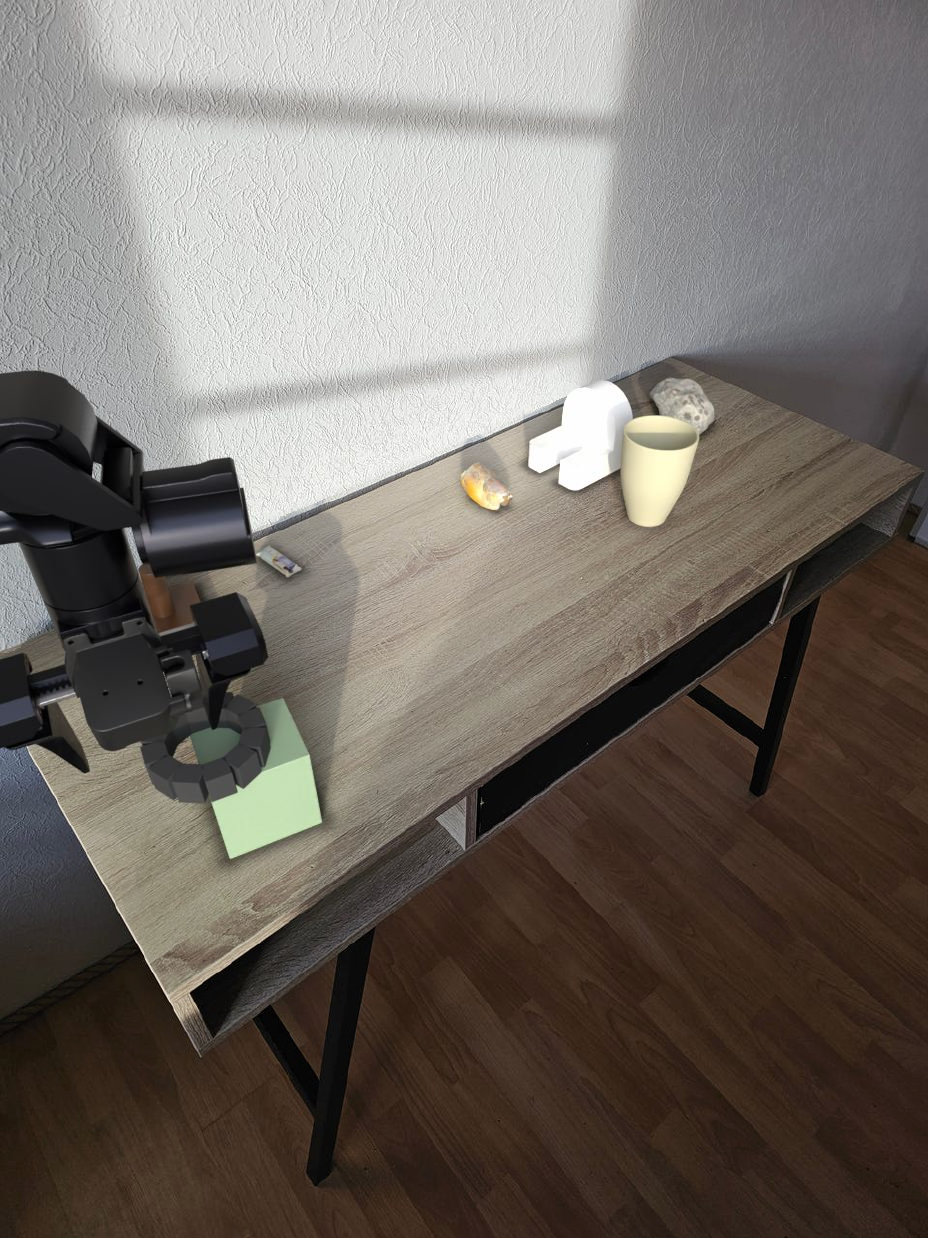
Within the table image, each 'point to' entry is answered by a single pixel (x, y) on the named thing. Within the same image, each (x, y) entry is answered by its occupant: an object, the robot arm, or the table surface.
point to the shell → (485, 487)
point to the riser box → (265, 785)
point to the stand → (168, 600)
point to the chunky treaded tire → (216, 775)
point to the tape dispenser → (585, 436)
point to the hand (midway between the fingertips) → (151, 746)
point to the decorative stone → (683, 402)
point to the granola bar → (278, 561)
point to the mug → (655, 466)
